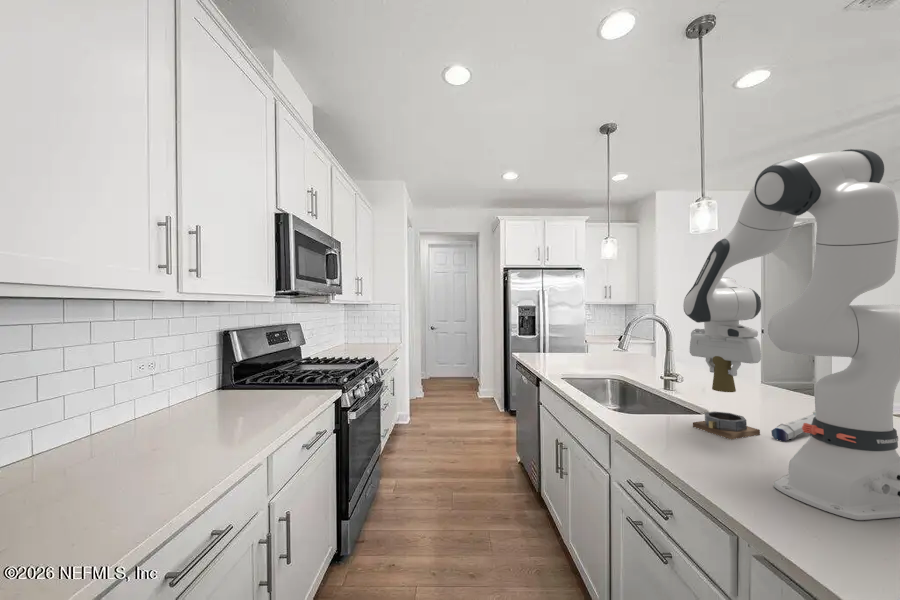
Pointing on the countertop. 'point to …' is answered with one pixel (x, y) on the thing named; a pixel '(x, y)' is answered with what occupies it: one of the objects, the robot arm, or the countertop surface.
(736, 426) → the collar
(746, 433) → the base plate
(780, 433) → the grey and blue bar
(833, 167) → the robot arm
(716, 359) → the cork
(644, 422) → the countertop surface
